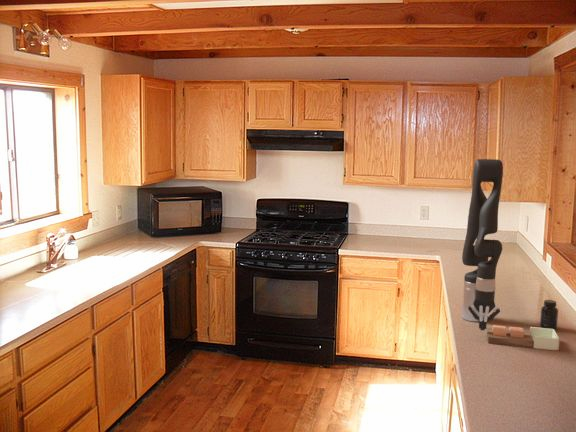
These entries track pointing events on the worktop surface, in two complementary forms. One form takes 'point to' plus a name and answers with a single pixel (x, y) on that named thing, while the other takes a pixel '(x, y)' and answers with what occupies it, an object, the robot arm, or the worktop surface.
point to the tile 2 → (516, 332)
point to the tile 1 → (499, 330)
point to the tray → (544, 338)
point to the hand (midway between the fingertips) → (482, 329)
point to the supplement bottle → (549, 315)
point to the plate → (510, 339)
